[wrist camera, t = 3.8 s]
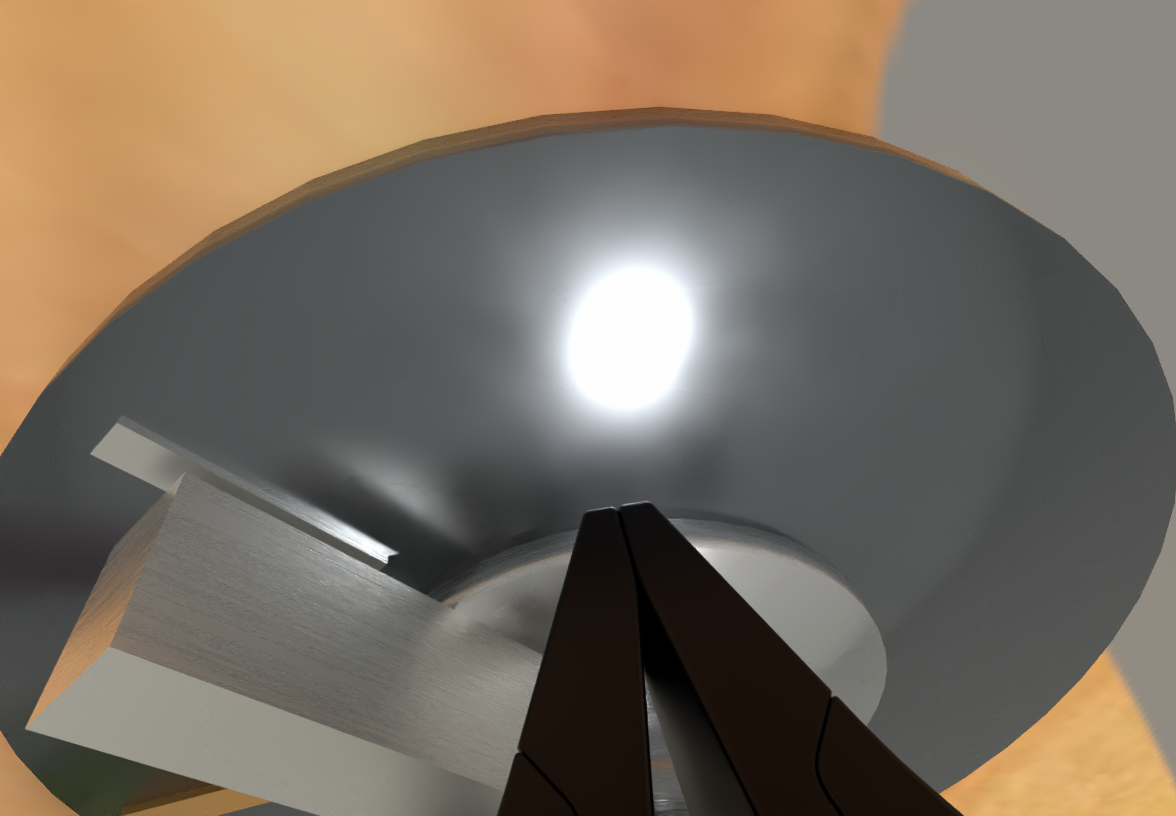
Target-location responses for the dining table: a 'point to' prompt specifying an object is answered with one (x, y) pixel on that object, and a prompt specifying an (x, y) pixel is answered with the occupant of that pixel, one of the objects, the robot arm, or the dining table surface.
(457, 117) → the dining table surface
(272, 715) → the dial
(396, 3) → the dining table surface
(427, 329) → the dial plate
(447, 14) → the dining table surface
